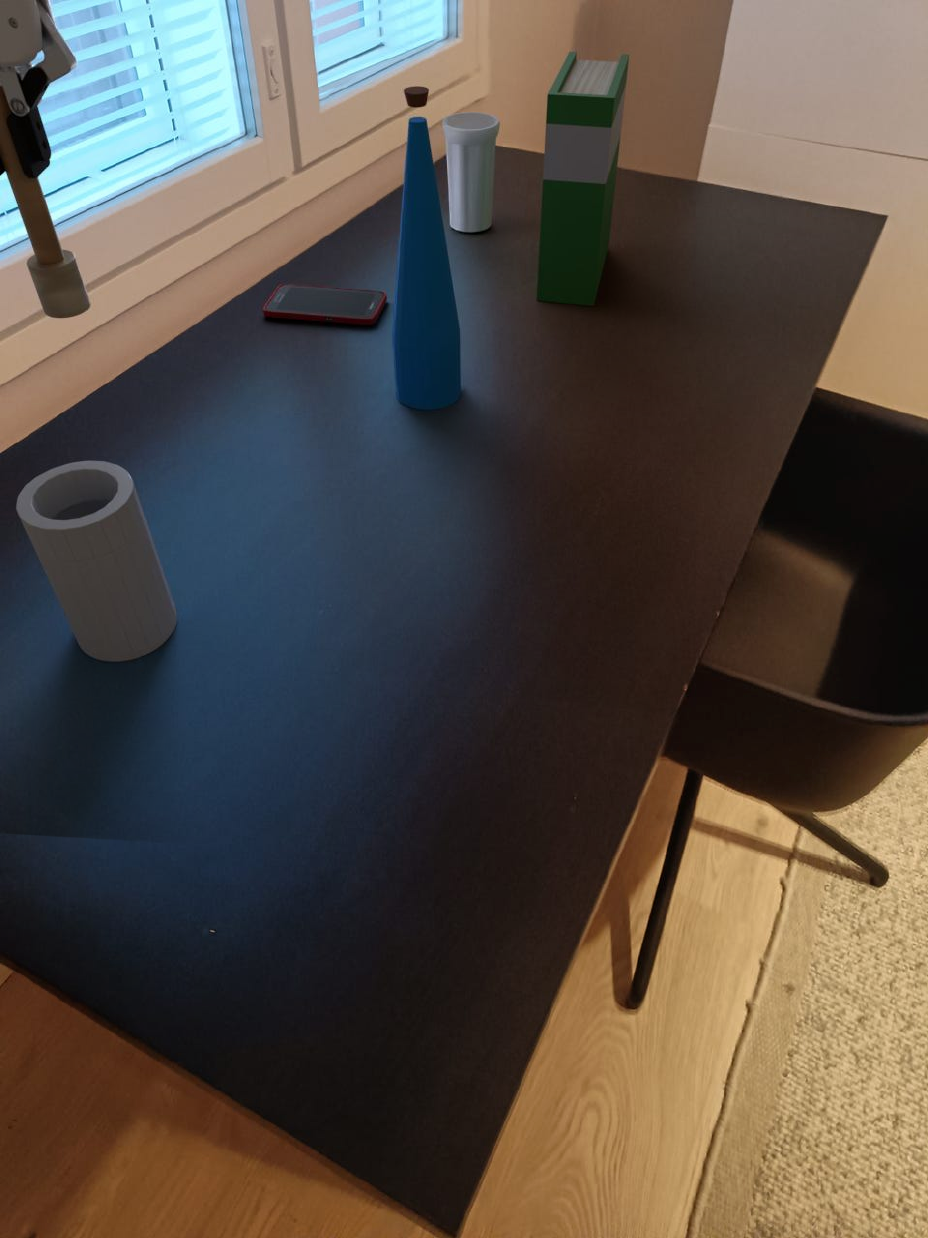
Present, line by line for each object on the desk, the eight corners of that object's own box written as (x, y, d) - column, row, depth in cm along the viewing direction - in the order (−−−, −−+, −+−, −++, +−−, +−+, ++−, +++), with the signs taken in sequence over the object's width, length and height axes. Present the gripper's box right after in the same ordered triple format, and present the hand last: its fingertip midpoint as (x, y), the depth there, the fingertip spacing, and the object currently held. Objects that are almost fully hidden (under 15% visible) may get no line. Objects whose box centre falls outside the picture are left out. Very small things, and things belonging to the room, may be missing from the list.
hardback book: (556, 244, 128) (569, 51, 111) (608, 248, 127) (629, 54, 110) (536, 300, 116) (547, 93, 99) (593, 305, 115) (614, 97, 98)
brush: (37, 318, 71) (-47, 91, 59) (53, 297, 73) (-25, 75, 62) (82, 318, 71) (6, 91, 59) (97, 297, 73) (27, 75, 62)
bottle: (384, 387, 102) (360, 87, 80) (438, 368, 105) (430, 73, 83) (418, 417, 98) (403, 109, 76) (473, 396, 100) (474, 93, 78)
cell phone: (280, 290, 118) (279, 282, 118) (388, 298, 117) (388, 291, 116) (261, 317, 113) (260, 310, 112) (374, 327, 111) (373, 319, 111)
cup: (487, 240, 129) (488, 133, 119) (435, 232, 131) (432, 126, 121) (505, 219, 135) (508, 114, 124) (455, 212, 137) (453, 108, 126)
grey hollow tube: (62, 659, 73) (-4, 527, 63) (97, 590, 79) (42, 458, 69) (160, 664, 73) (110, 531, 63) (188, 594, 78) (147, 462, 68)
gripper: (-271, -161, 49) (-113, 190, 62) (15, -163, 48) (113, 192, 62) (-195, -174, 54) (-64, 152, 67) (64, -176, 54) (144, 153, 67)
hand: (19, 169), depth 64 cm, fingers closed on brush, 2 cm apart
